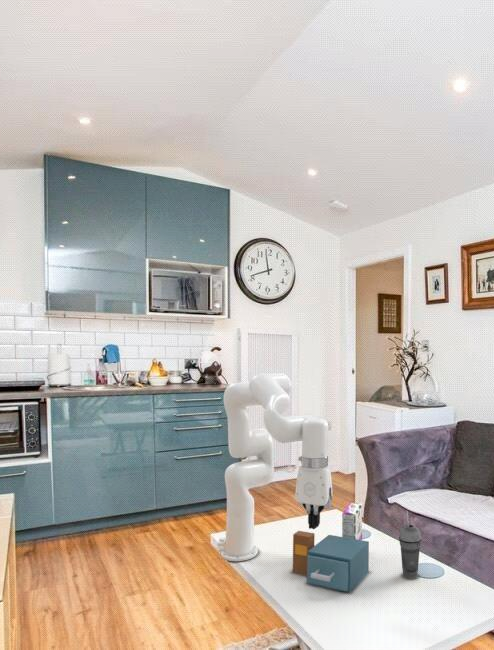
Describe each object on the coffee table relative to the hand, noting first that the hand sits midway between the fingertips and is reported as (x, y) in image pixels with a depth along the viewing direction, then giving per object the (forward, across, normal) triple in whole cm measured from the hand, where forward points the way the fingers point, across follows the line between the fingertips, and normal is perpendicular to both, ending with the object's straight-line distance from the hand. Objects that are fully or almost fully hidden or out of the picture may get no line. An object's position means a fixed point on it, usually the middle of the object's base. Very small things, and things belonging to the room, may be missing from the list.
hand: (313, 527), depth 140 cm
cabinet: (+21, 0, +17) cm, 27 cm away
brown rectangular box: (+21, -12, +16) cm, 29 cm away
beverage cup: (+21, +20, +27) cm, 40 cm away
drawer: (+20, 0, +13) cm, 24 cm away
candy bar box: (+21, -2, +33) cm, 39 cm away
